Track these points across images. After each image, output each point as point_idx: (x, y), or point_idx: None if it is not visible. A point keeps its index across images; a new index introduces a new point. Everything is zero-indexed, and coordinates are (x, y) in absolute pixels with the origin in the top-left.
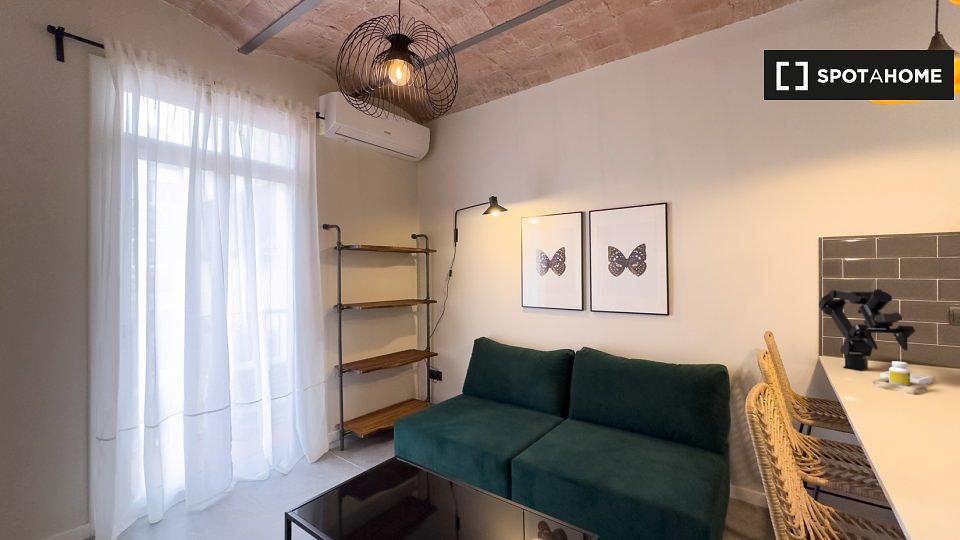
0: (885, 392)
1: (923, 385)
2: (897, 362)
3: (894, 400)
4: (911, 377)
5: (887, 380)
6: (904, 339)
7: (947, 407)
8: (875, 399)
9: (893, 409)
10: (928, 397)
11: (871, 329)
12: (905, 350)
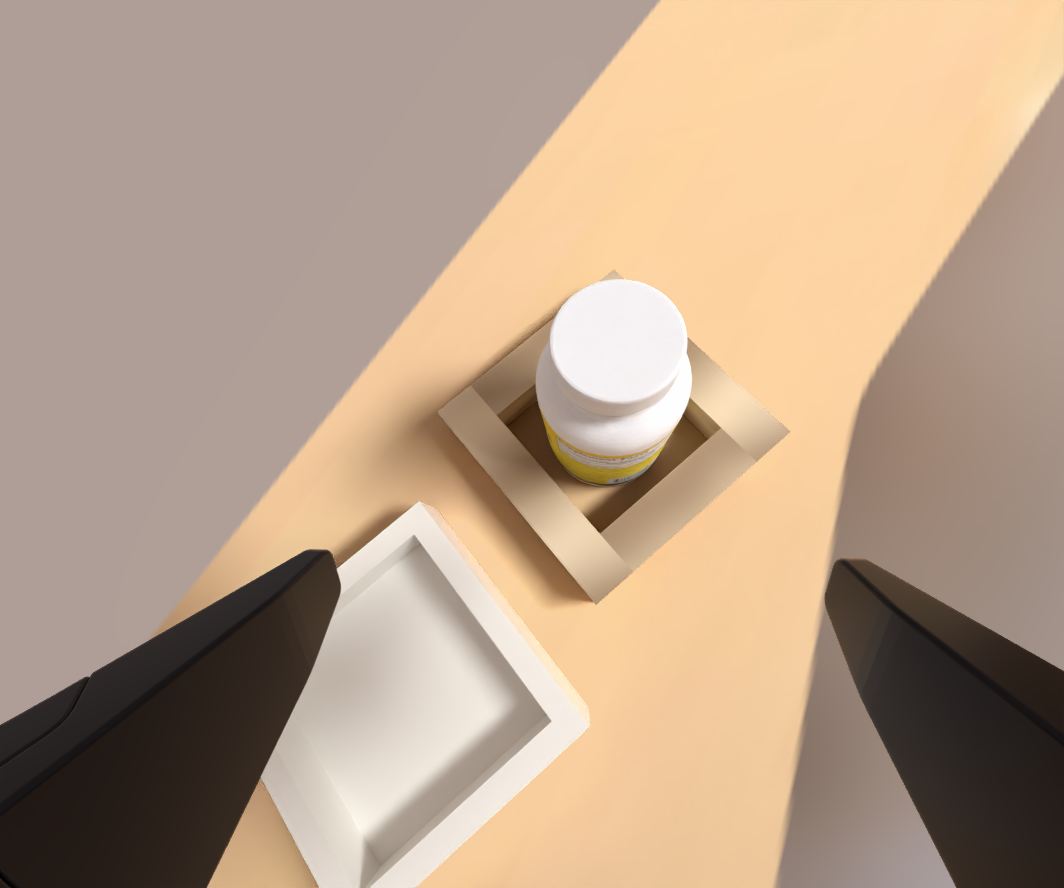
0: (762, 300)
1: (478, 383)
2: (642, 330)
3: (797, 148)
4: (315, 762)
5: (652, 488)
6: (72, 727)
7: (589, 108)
8: (900, 136)
9: (882, 4)
10: (560, 258)
11: None
12: (337, 578)
